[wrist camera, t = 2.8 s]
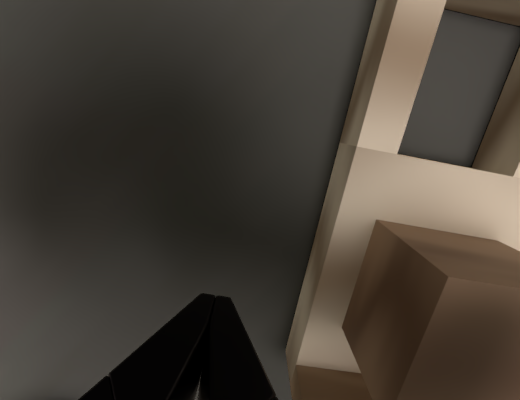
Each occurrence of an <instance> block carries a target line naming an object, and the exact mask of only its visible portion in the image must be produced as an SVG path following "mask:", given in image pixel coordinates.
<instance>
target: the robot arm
mask: <svg viewBox="0 0 520 400" xmlns="http://www.w3.org/2000/svg"><path fill="white" fill-rule="evenodd" d="M201 372H202V373H201ZM200 377H201V379H200ZM199 381H200V386H199V394H198V400H278V398H277V397H275V396H276V394H275V392H274V390H273V388H272V385H271V383H270V381H269V379H268V377H267V375H266V373H265V370H264V368H263V366H262V364H261V362H260V360H259V358H258V355H257V353H256V351H255V349H254V347H253V345H252V343H251V340H250V338H249V336H248V334H247V332H246V330H245V328H244V325H243V323H242V321H241V319H240V317H239V315H238V313H237V310H236V308H235V306H234V304H233V302H232V300H231V298H230V297H225V296H216V298H215V296H214V295H211V294H204V293H202V294H200V295H199V296H197V297H196V298H195V299H194V300H193V301H192V302H191V303H189V304H188V305H187V306H186V307H185V308H184V309H182V310H181V311H180V312H179V313H178V314H177V315H176V316H174V317H173V318H172V319H171V320H170V321H169V322H168V323H166V324H165V325H164V326H163V327H162V328H161V329H159V330H158V331H157V332H156V333H155V334H154V335H153V336H151V337H150V338H149V339H148V340H147V341H146V342H145V343H143V344H142V345H141V346H140V347H139V348H138V349H136V350H135V351H134V352H133V353H132V354H131V355H130V356H128V357H127V358H126V359H125V360H124V361H123V362H122V363H120V364H119V365H118V366H117V367H116V368H115V369H113V370H112V371H111V372H110V373H109V375H108V376H105V377H104V378H103V379H102V380H101V381H99V382H98V383H97V384H96V385H95V386H94V387H92V388H91V389H90V390H89V391H88V392H87V393H85V394H84V395H83V396H82V397H81V398H79V399H78V400H194V398H195V395H196V392H197V388H198V385H199Z"/></svg>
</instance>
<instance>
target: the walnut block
mask: <svg viewBox="0 0 520 400" xmlns="http://www.w3.org/2000/svg"><path fill="white" fill-rule="evenodd" d="M342 329H343V332H344V334H345V336H346V339H347V341H348V343H349V346H350V348H351V350H352V353H353V355H354V357H355V360H356V362H357V365H358V367H359V369H360V372H361V374H362V376H363V379H364V381H365V383H366V386H367V388H368V390H369V393H370V395H371V397H372V400H520V251H518V250H516V249H514V248H512V247H510V246H508V245H506V244H504V243H501V242H499V241H497V240H492V239H486V238H480V237H474V236H469V235H463V234H457V233H451V232H446V231H440V230H434V229H429V228H423V227H417V226H411V225H406V224H400V223H394V222H388V221H383V220H377V219H376V222H375V225H374V228H373V231H372V234H371V237H370V240H369V244H368V247H367V250H366V253H365V256H364V259H363V262H362V265H361V268H360V272H359V275H358V278H357V281H356V284H355V287H354V290H353V293H352V296H351V300H350V303H349V306H348V309H347V312H346V315H345V318H344V321H343V324H342Z"/></svg>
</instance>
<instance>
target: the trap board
mask: <svg viewBox="0 0 520 400" xmlns="http://www.w3.org/2000/svg"><path fill="white" fill-rule="evenodd" d="M444 9H448V10H452V11H457V12H461V13H465V14H469V15H474V16H478V17H482V18H486V19H491V20H495V21H499V22H503V23H508V24H512V25H516V26H520V0H377V1H376V5H375V9H374V13H373V17H372V20H371V24H370V28H369V32H368V36H367V40H366V43H365V47H364V51H363V55H362V59H361V63H360V66H359V70H358V74H357V78H356V82H355V86H354V89H353V93H352V97H351V101H350V105H349V109H348V112H347V116H346V120H345V124H344V128H343V132H342V135H341V139H340V143H339V147H338V151H337V155H336V158H335V162H334V166H333V170H332V174H331V178H330V181H329V185H328V189H327V193H326V197H325V201H324V204H323V208H322V212H321V216H320V220H319V223H318V227H317V231H316V235H315V239H314V243H313V246H312V250H311V254H310V258H309V262H308V266H307V269H306V273H305V277H304V281H303V285H302V289H301V292H300V296H299V300H298V304H297V308H296V312H295V315H294V319H293V323H292V327H291V331H290V335H289V338H288V342H287V346H286V358H287V365H288V372H289V380H290V387H291V394H292V400H372V397H371V395H370V393H369V390H368V388H367V386H366V383H365V381H364V379H363V376H362V374H361V372H360V369H359V367H358V365H357V362H356V360H355V357H354V355H353V353H352V350H351V348H350V346H349V343H348V341H347V339H346V336H345V334H344V332H343V329H342V324H343V321H344V318H345V315H346V312H347V309H348V306H349V303H350V300H351V296H352V293H353V290H354V287H355V284H356V281H357V278H358V275H359V272H360V268H361V265H362V262H363V259H364V256H365V253H366V250H367V247H368V244H369V240H370V237H371V234H372V231H373V228H374V225H375V222H376V219H377V220H383V221H388V222H394V223H400V224H406V225H411V226H417V227H423V228H429V229H434V230H440V231H446V232H451V233H457V234H463V235H469V236H474V237H480V238H486V239H492V240H497V241H499V242H501V243H504V244H506V245H508V246H510V247H512V248H514V249H516V250H518V251H520V47H519V50H518V52H517V55H516V57H515V60H514V62H513V65H512V67H511V70H510V72H509V75H508V77H507V80H506V82H505V85H504V87H503V90H502V92H501V95H500V97H499V100H498V102H497V105H496V107H495V110H494V112H493V115H492V117H491V120H490V122H489V125H488V127H487V130H486V132H485V135H484V137H483V140H482V142H481V145H480V147H479V150H478V152H477V155H476V157H475V160H474V162H473V165H472V167H471V168H469V167H464V166H459V165H453V164H448V163H443V162H438V161H433V160H428V159H422V158H417V157H412V156H407V155H402V154H397V153H398V150H399V147H400V144H401V141H402V138H403V135H404V131H405V128H406V125H407V122H408V119H409V116H410V113H411V110H412V106H413V103H414V100H415V97H416V94H417V91H418V88H419V85H420V82H421V78H422V75H423V72H424V69H425V66H426V63H427V60H428V57H429V54H430V50H431V47H432V44H433V41H434V38H435V35H436V32H437V29H438V26H439V22H440V19H441V16H442V13H443V10H444Z"/></svg>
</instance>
